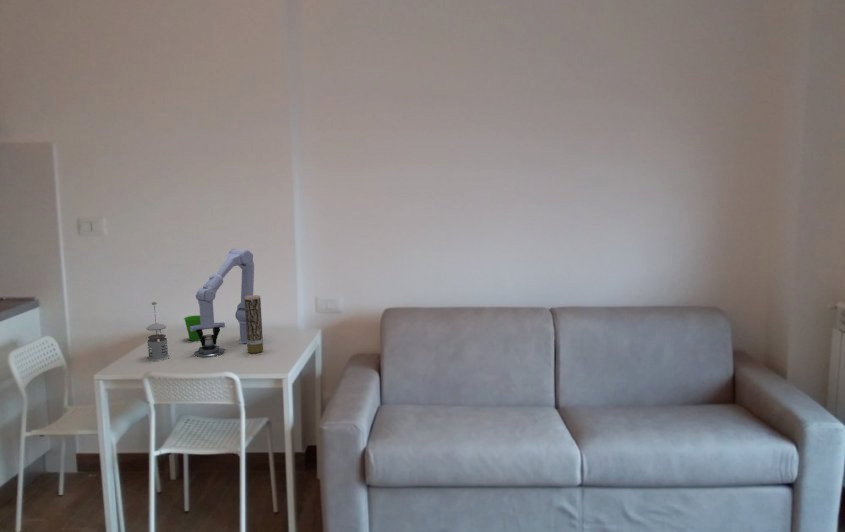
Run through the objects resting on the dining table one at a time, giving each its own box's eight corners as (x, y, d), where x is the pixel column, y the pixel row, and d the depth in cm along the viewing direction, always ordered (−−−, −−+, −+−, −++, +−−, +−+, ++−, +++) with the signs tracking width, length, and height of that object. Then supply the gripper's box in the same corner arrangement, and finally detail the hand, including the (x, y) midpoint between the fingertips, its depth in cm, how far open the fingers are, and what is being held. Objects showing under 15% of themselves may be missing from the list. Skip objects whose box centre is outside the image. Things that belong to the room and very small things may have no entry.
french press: (144, 362, 272) (139, 304, 268) (148, 354, 283) (144, 299, 279) (169, 360, 274) (165, 303, 270) (172, 352, 285) (168, 297, 281)
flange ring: (225, 348, 291) (225, 342, 291) (223, 356, 279) (223, 350, 278) (196, 350, 289) (195, 344, 288) (192, 358, 276) (191, 352, 276)
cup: (208, 337, 310) (207, 315, 308) (200, 342, 301) (198, 319, 299) (190, 337, 311) (189, 315, 309) (182, 342, 302) (180, 319, 300)
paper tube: (259, 354, 281) (256, 298, 277) (244, 353, 282) (241, 298, 279) (265, 349, 288) (262, 295, 284) (251, 349, 289) (248, 295, 285)
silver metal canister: (214, 346, 287) (213, 333, 286) (215, 349, 282) (214, 336, 281) (203, 348, 285) (202, 335, 284) (204, 350, 281) (203, 337, 280)
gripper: (222, 311, 288) (223, 340, 290) (188, 315, 281) (190, 344, 283) (225, 314, 282) (226, 344, 284) (190, 318, 275) (192, 348, 277)
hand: (208, 344), depth 283 cm, fingers closed on silver metal canister, 5 cm apart
